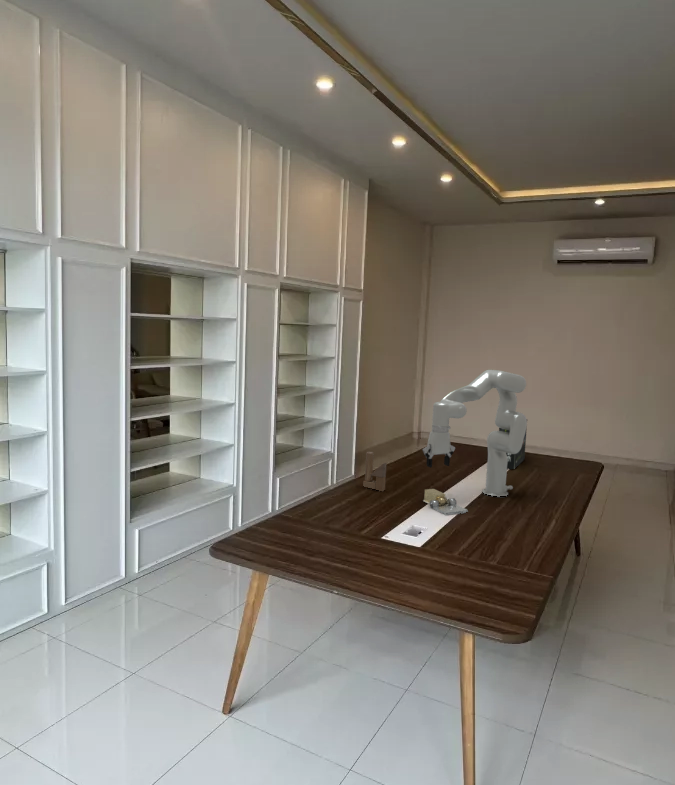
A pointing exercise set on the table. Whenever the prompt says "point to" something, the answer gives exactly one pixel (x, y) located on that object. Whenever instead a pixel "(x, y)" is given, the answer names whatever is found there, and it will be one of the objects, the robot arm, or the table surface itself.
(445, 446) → the robot arm
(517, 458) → the router box
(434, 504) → the hinge base
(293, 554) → the table surface
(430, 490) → the brass knob plate
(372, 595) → the table surface
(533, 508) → the table surface
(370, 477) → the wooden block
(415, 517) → the table surface
